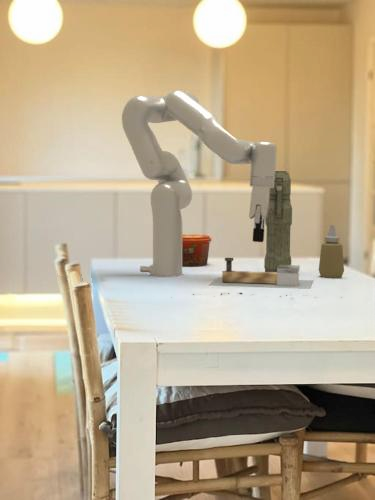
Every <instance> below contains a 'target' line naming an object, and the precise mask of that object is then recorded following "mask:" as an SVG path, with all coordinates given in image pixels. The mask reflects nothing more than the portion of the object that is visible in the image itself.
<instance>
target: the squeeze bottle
mask: <svg viewBox="0 0 375 500" xmlns="http://www.w3.org/2000/svg"><path fill="white" fill-rule="evenodd" d="M320 247H321V248H320V256H319V264H318V272H319V273H318V274H319V276H320V278H323V279H324V278H325V279H341V278H342V277H343V275H344V272H345V267H344V266H345V265H344V262H345V261H344V252H343V245H342V243H340V237H339V236H337V233H336V227H335V225H332V224H330V227H329V231H328V234H327V235H326V236H324V242H323V243H322V244H321V246H320Z"/></svg>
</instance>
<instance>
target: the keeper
mask: <svg viewBox="0 0 375 500" xmlns="http://www.w3.org/2000/svg"><path fill="white" fill-rule="evenodd" d="M299 271H300V265H297V264H296V265H293V264H291V265H279V266H278V268H277V286H298V273H299Z"/></svg>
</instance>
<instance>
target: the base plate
mask: <svg viewBox="0 0 375 500" xmlns="http://www.w3.org/2000/svg"><path fill="white" fill-rule="evenodd" d="M313 283H314V279H313V280H312V279H299V283H298V286H277V284H272V283H245V282H223V281H222V276H218V277H217V278H215V279H214V280H212V282H210V283H208V286H213V287H214V286H217V287H244V288H245V287H246V288H275V289H276V288H277V289H298V290H299V289H300V290H301V289H302V290H305V289H306V290H311V287H312V285H313Z"/></svg>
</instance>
